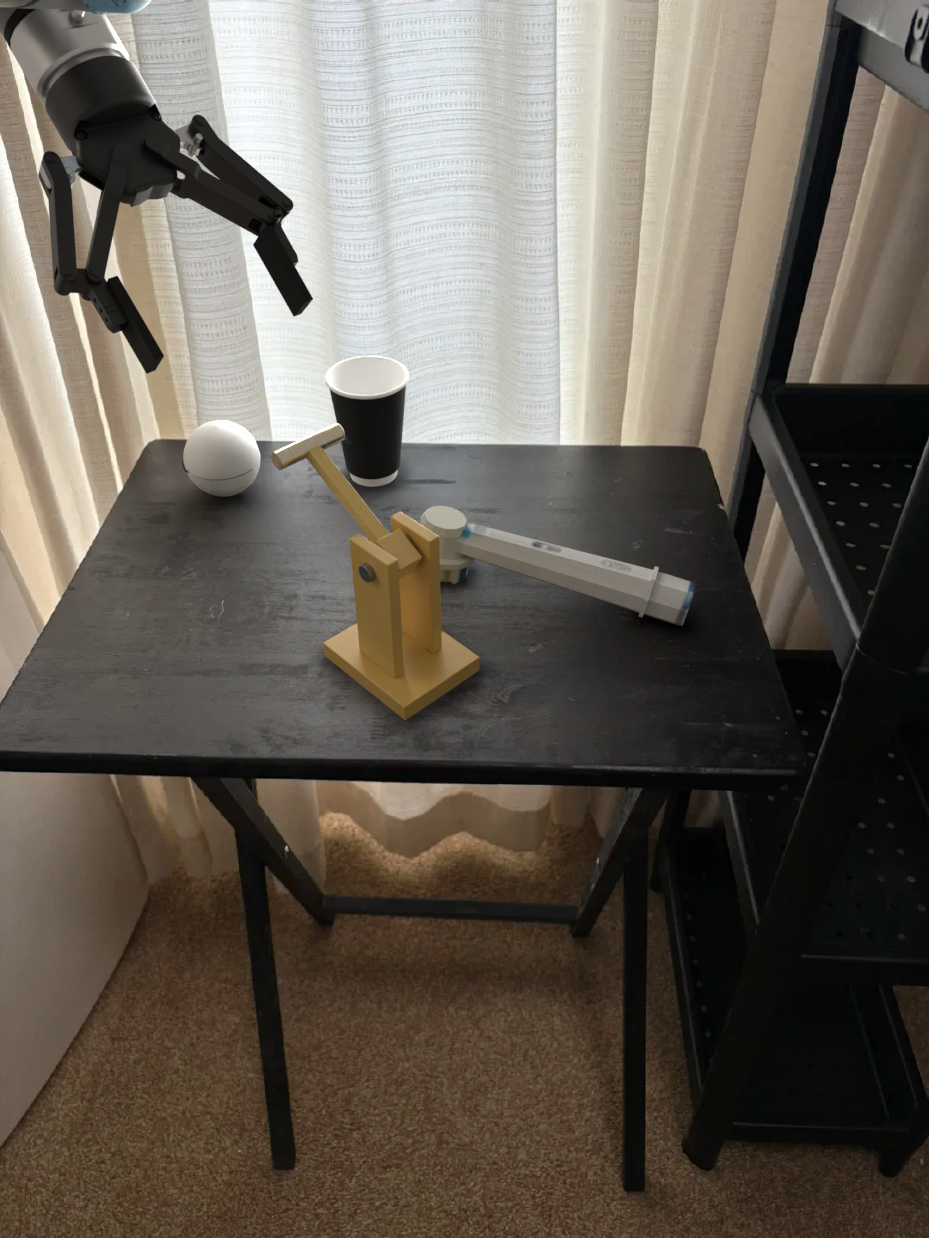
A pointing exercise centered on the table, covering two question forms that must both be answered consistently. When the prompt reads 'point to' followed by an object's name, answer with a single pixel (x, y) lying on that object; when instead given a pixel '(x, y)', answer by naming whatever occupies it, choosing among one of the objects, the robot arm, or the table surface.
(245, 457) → the white sphere
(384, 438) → the dixie cup
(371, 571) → the yellow lever stand
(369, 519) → the tap lever
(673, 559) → the table surface
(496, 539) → the white handheld electric wand
